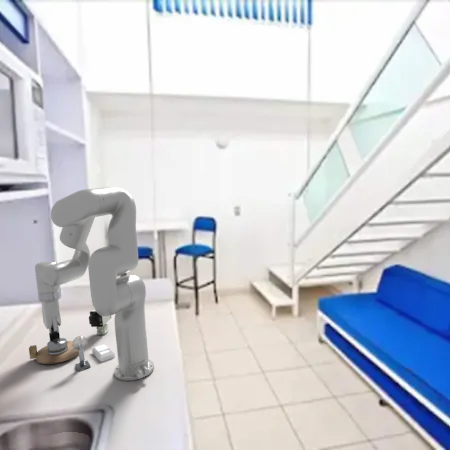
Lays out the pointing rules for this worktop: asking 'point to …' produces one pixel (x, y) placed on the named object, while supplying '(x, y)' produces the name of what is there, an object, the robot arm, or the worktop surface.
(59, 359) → the turntable
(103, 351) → the white switch plate
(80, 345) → the gauge post
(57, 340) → the cover
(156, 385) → the worktop surface
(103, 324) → the pneumatic valve
